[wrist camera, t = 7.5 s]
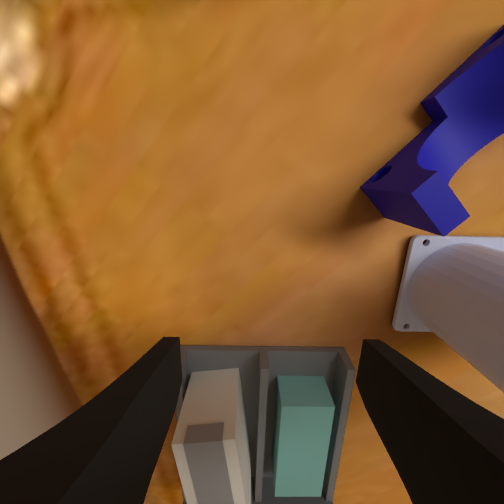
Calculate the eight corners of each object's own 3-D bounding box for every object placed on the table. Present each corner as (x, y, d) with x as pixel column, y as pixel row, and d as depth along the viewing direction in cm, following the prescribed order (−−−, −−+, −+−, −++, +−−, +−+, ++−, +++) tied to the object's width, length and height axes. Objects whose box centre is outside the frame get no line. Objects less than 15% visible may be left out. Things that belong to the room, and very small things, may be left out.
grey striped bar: (238, 366, 21) (235, 439, 15) (250, 453, 24) (251, 541, 18) (191, 371, 21) (170, 445, 16) (209, 456, 24) (197, 545, 18)
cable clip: (502, 25, 15) (656, -65, 9) (535, 86, 16) (694, 38, 10) (345, 171, 18) (393, 170, 12) (383, 217, 19) (444, 236, 13)
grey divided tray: (343, 347, 22) (357, 373, 19) (323, 475, 26) (332, 512, 23) (181, 345, 21) (170, 371, 18) (189, 475, 26) (182, 512, 23)
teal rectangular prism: (323, 376, 22) (335, 406, 19) (312, 459, 25) (320, 496, 22) (277, 375, 22) (281, 406, 19) (271, 458, 25) (274, 496, 22)
